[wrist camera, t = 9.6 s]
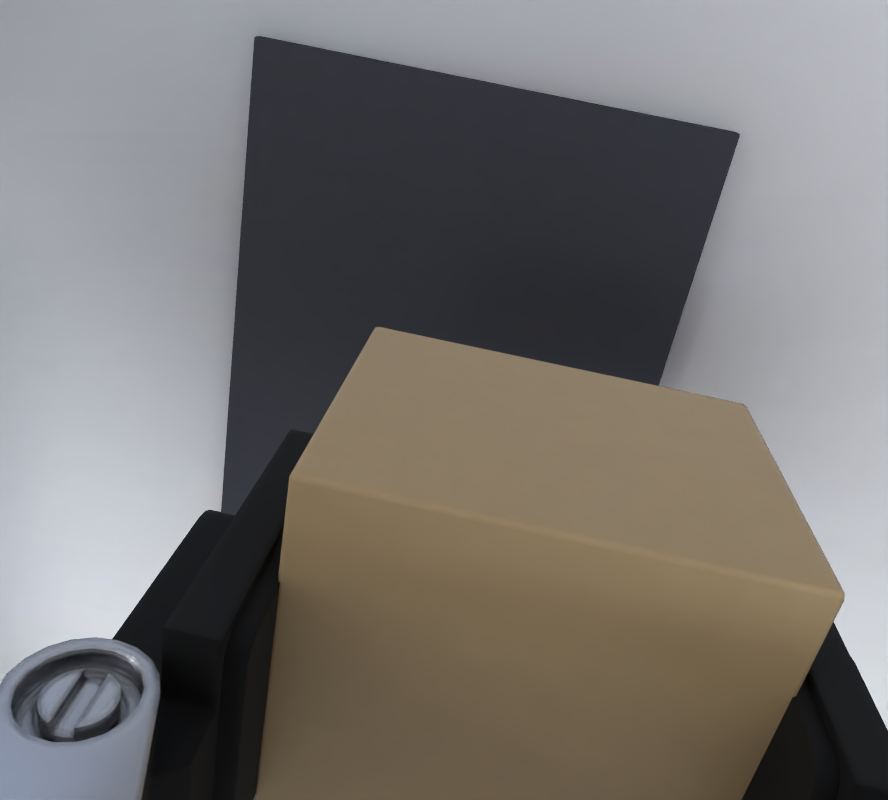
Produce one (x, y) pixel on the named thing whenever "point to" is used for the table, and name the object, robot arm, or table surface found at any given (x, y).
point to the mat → (449, 231)
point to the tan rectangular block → (533, 588)
